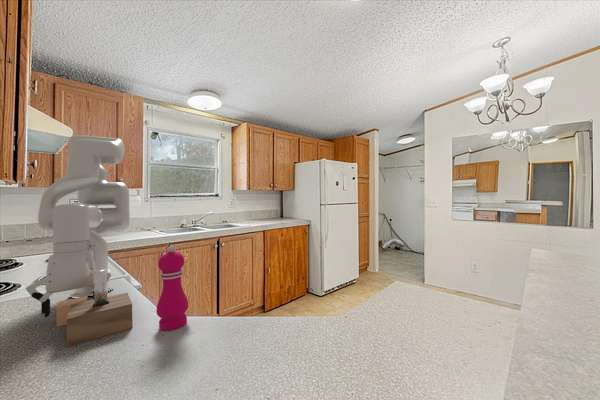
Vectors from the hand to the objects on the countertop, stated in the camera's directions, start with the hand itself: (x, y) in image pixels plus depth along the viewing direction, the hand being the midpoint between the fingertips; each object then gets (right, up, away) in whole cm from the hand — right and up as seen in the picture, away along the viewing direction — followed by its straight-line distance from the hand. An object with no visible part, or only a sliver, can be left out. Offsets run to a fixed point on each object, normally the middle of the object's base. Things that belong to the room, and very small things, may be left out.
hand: (72, 310), depth 68 cm
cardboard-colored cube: (0, -3, 0) cm, 3 cm away
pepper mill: (+31, -1, -6) cm, 32 cm away
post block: (+13, -2, -6) cm, 14 cm away
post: (+12, +4, -6) cm, 14 cm away
